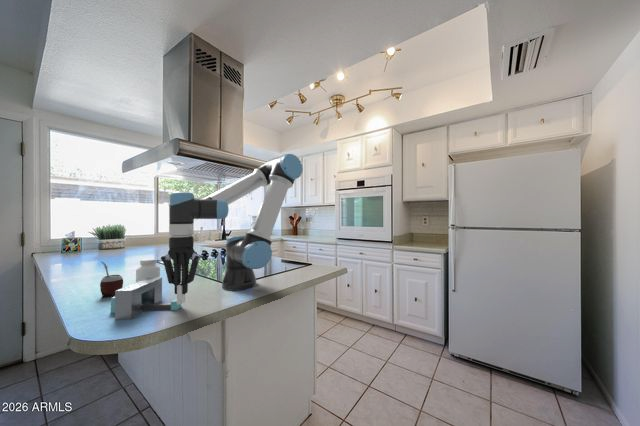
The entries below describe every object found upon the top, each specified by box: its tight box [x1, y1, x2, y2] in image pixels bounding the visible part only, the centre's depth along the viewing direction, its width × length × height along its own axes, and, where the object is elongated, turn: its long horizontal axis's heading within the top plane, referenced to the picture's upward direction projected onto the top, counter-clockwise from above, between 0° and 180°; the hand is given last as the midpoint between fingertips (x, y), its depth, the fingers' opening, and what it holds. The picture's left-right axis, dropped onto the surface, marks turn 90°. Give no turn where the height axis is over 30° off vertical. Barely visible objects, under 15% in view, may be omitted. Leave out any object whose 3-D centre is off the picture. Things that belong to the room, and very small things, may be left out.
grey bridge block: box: [114, 277, 163, 320], centre depth 84 cm, size 5×16×9 cm, turn 3°
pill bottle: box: [135, 257, 161, 283], centre depth 97 cm, size 8×8×15 cm
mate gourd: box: [99, 261, 124, 299], centre depth 97 cm, size 8×8×15 cm
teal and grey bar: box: [110, 297, 182, 314], centre depth 84 cm, size 21×5×5 cm, turn 94°
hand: (181, 303), depth 84 cm, fingers closed
